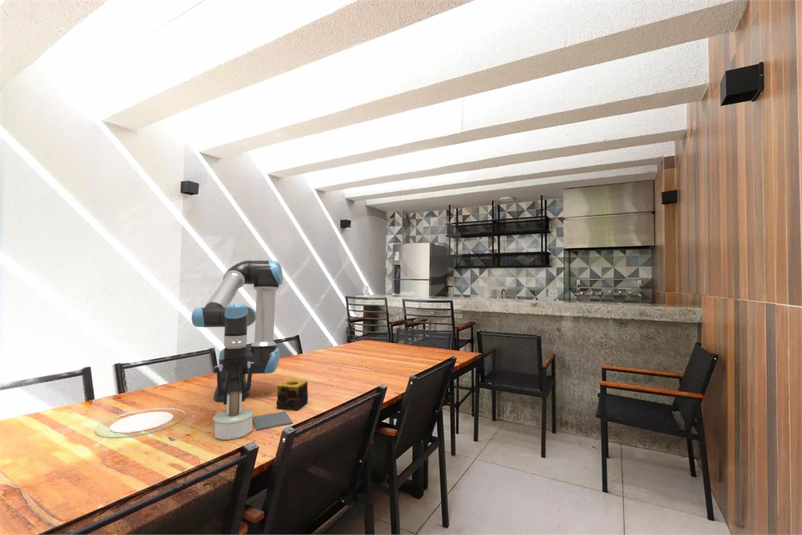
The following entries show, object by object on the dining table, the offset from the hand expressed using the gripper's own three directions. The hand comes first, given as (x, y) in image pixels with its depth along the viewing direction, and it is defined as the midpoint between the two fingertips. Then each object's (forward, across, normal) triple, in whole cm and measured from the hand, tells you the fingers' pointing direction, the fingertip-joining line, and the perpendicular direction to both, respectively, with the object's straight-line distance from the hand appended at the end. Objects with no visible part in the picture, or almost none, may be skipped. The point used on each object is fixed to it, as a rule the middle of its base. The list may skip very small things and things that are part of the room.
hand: (233, 411), depth 128 cm
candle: (+8, +25, +17) cm, 31 cm away
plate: (+8, -29, +27) cm, 41 cm away
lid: (+2, 0, 0) cm, 2 cm away
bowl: (+7, 0, 0) cm, 7 cm away
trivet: (+7, +14, +4) cm, 16 cm away
